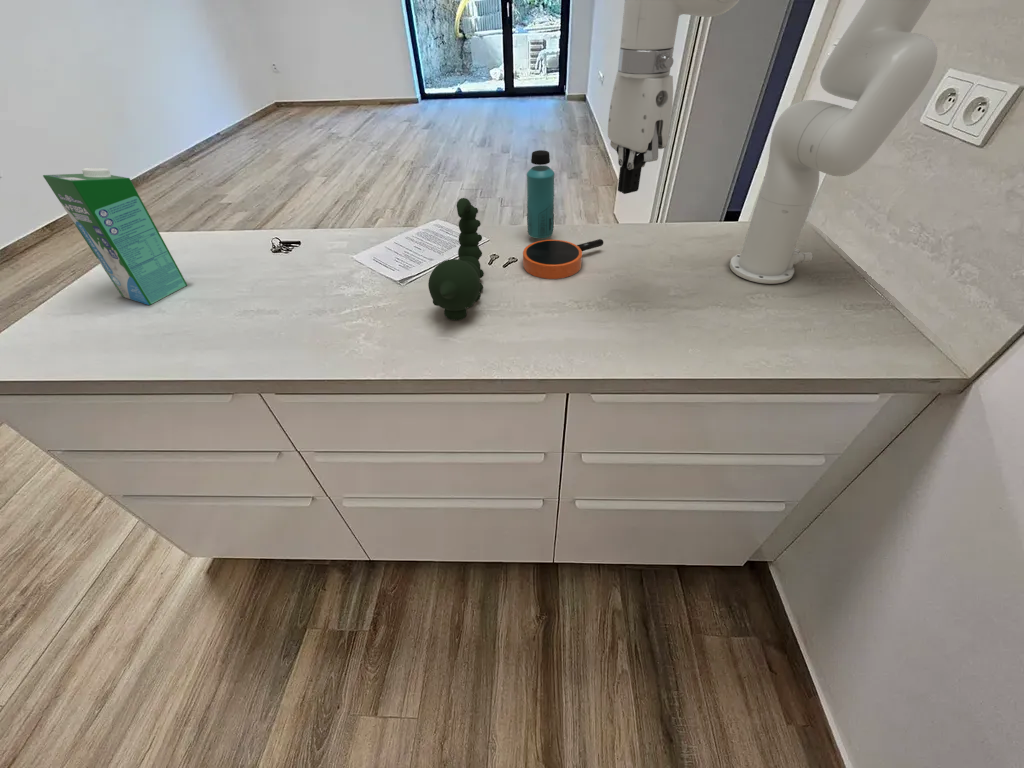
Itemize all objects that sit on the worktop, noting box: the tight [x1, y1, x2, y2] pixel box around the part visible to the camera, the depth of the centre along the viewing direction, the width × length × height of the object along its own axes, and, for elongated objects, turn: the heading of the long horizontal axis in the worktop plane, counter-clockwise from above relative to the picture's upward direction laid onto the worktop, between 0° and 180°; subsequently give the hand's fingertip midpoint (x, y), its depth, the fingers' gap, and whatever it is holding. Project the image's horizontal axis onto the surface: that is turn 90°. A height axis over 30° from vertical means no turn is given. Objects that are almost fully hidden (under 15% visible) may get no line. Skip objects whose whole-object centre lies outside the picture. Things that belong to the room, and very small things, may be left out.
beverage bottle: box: [526, 149, 555, 239], centre depth 110 cm, size 6×7×20 cm
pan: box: [522, 238, 604, 280], centre depth 106 cm, size 20×13×3 cm, turn 118°
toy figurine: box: [427, 197, 485, 321], centre depth 90 cm, size 9×19×25 cm
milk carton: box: [42, 167, 188, 306], centre depth 94 cm, size 9×9×25 cm
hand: (627, 190), depth 81 cm, fingers closed
